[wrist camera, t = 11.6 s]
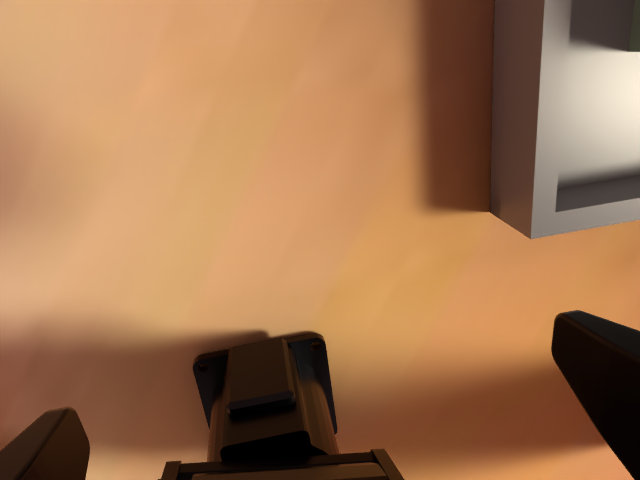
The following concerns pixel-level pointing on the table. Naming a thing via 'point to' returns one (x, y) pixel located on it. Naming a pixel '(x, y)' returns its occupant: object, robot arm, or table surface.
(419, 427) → the table surface
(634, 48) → the green block
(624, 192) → the bin
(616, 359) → the robot arm
